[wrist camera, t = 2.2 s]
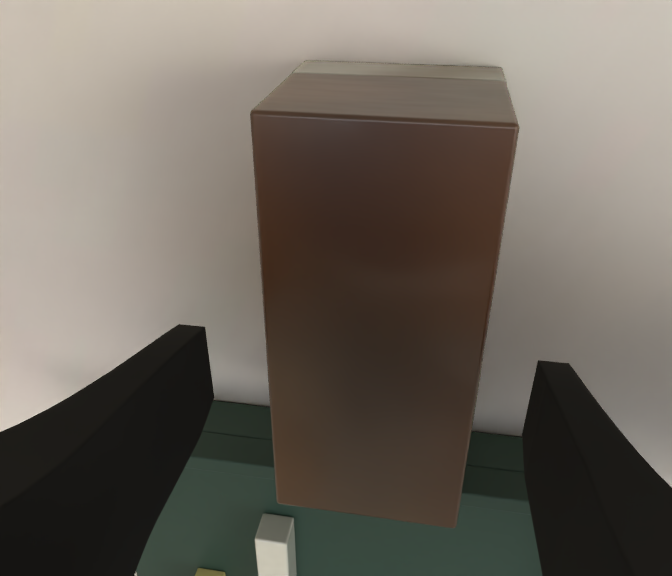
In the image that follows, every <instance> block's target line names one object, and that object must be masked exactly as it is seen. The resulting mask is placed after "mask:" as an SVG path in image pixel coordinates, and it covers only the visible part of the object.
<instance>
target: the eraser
mask: <svg viewBox="0 0 672 576" xmlns="http://www.w3.org/2000/svg"><path fill="white" fill-rule="evenodd" d="M250 118H251V132H252V147H253V162H254V177H255V191H256V206H257V221H258V235H259V250H260V265H261V279H262V294H263V309H264V323H265V338H266V353H267V367H268V382H269V397H270V411H271V426H272V441H273V455H274V470H275V485H276V499H277V503H279V504H285V505H292V506H299V507H306V508H313V509H320V510H327V511H334V512H341V513H348V514H355V515H362V516H369V517H376V518H383V519H390V520H397V521H404V522H411V523H418V524H425V525H432V526H439V527H446V528H455V527H456V525H457V520H458V514H459V507H460V501H461V495H462V488H463V482H464V476H465V469H466V463H467V457H468V450H469V444H470V438H471V431H472V425H473V419H474V412H475V406H476V399H477V393H478V387H479V380H480V374H481V368H482V361H483V355H484V349H485V342H486V336H487V330H488V323H489V317H490V311H491V304H492V298H493V292H494V285H495V279H496V273H497V266H498V260H499V254H500V247H501V241H502V235H503V228H504V222H505V216H506V209H507V203H508V197H509V190H510V184H511V177H512V171H513V165H514V158H515V152H516V146H517V139H518V133H519V125H518V121H517V118H516V115H515V111H514V108H513V105H512V101H511V98H510V95H509V91H508V88H507V84H506V79H505V76H504V73H503V69H502V68H499V67H472V66H445V65H418V64H391V63H364V62H337V61H310V60H306V61H304V62H303V63H302V64H301V65H300V66H299V67H298V68H296V69H295V70H294V71H293V72H292V74H291V75H290V76H289V77H288V78H286V79H285V80H284V81H283V82H282V83H281V84H280V85H279V86H278V87H277V88H276V89H275V90H273V91H272V92H271V93H270V94H269V95H268V96H267V97H266V98H265V99H264V100H263V101H262V102H260V103H259V104H258V105H257V106H256V107H255V108H254V109H253V110H252V111H251V114H250Z"/></svg>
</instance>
